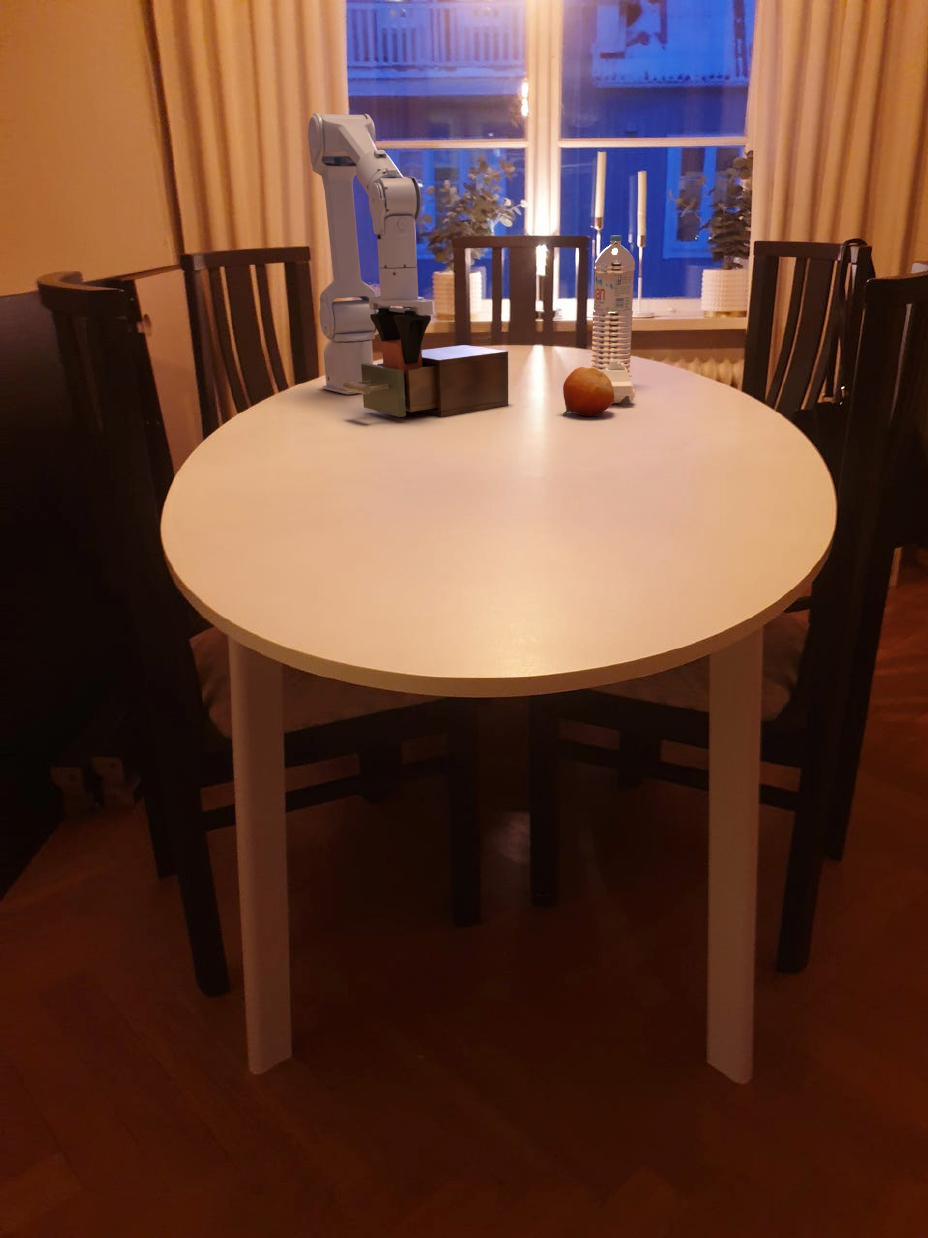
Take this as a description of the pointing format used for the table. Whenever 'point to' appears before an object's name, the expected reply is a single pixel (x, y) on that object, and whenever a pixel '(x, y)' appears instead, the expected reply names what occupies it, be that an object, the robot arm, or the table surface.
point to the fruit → (587, 392)
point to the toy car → (620, 381)
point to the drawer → (397, 388)
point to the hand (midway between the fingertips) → (402, 361)
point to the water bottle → (613, 306)
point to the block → (397, 356)
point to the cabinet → (468, 378)
